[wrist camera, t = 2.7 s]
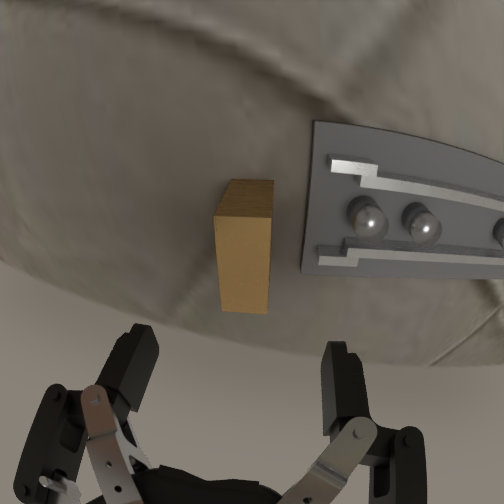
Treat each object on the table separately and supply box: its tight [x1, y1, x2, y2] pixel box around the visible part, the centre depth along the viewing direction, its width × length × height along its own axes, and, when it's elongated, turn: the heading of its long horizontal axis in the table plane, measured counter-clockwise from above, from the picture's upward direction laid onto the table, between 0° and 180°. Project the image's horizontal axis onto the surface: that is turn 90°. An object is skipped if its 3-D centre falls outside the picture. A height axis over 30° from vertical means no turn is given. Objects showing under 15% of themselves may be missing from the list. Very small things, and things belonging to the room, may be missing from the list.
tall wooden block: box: [213, 179, 274, 314], centre depth 18 cm, size 3×7×6 cm, turn 0°
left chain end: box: [316, 154, 484, 267], centre depth 17 cm, size 13×8×3 cm, turn 90°
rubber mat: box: [300, 120, 504, 279], centre depth 18 cm, size 28×12×1 cm, turn 90°
